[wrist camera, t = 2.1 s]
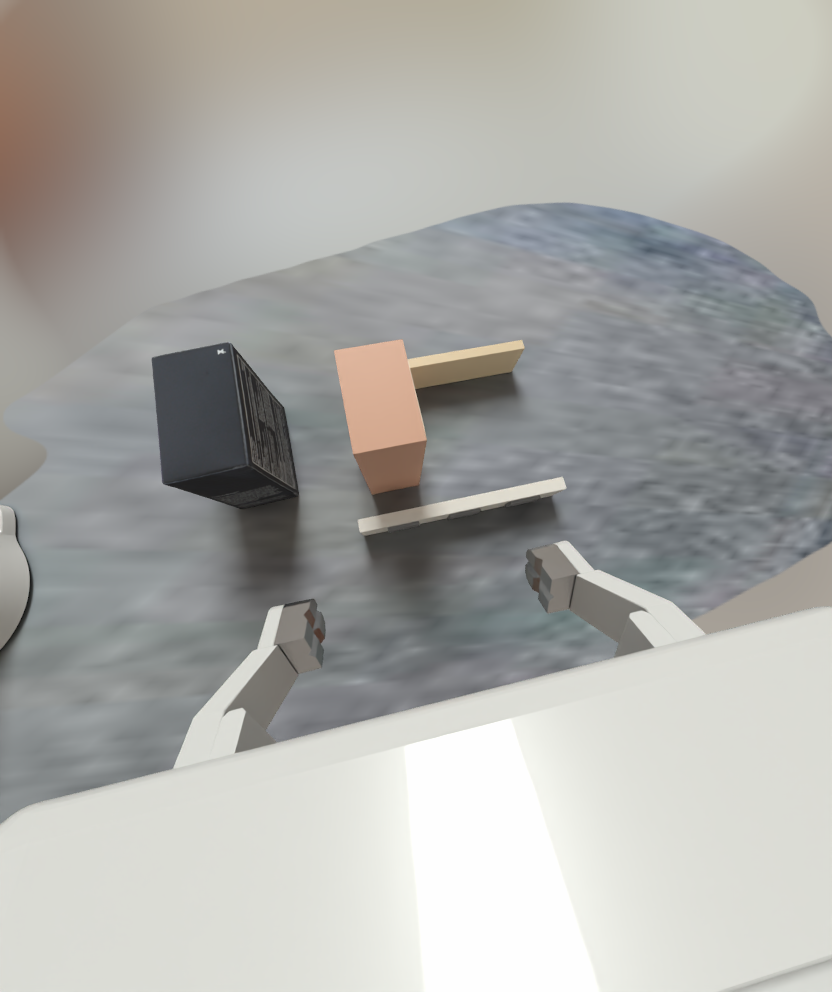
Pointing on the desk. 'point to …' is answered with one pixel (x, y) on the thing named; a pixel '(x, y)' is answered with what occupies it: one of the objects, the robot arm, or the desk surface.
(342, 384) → the carton
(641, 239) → the desk surface
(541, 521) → the desk surface
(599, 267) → the desk surface
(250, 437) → the small box
